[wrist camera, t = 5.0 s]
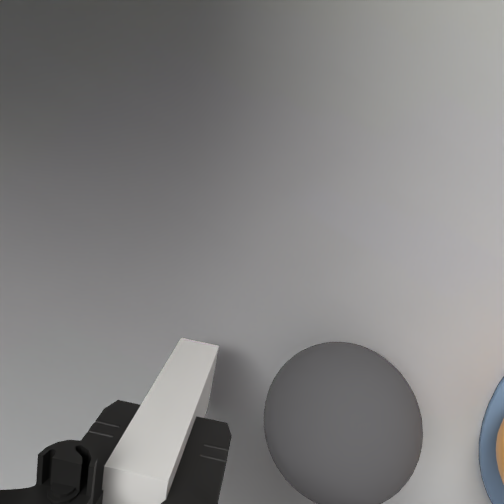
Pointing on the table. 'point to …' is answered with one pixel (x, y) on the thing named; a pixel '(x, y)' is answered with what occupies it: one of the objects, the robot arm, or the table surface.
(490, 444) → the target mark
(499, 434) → the object ball
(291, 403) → the dark gray ball
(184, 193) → the table surface
